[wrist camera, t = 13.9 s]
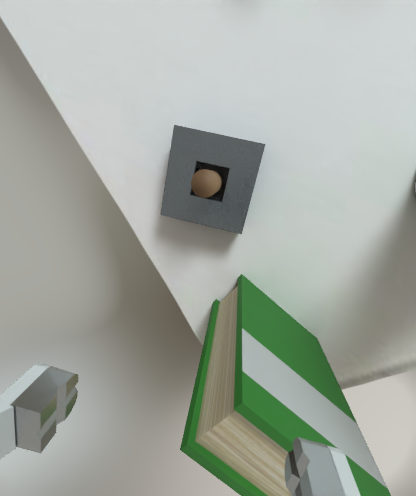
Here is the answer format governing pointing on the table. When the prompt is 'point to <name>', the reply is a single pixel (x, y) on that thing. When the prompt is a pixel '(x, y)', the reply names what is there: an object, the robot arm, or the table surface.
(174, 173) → the socket
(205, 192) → the round peg
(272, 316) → the hardback book
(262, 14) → the table surface
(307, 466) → the robot arm
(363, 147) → the table surface
